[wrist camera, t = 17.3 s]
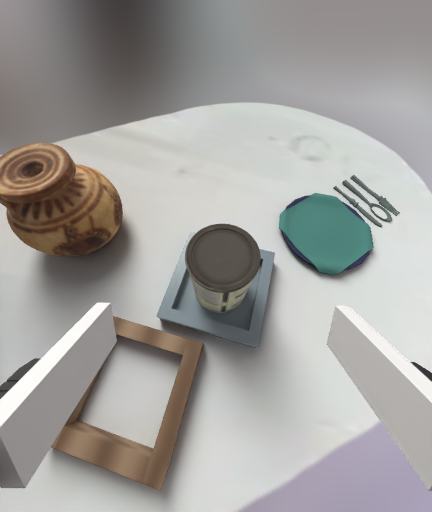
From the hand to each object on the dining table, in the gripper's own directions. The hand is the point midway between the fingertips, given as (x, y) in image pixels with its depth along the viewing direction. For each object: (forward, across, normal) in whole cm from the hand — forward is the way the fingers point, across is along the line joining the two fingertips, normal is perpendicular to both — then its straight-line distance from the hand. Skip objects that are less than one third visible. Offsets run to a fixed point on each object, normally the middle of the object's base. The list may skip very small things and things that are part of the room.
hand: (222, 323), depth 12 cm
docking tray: (+27, +1, -12) cm, 29 cm away
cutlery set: (+39, +28, -1) cm, 48 cm away
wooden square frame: (+15, -13, -24) cm, 31 cm away
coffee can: (+26, +1, -11) cm, 29 cm away
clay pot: (+37, -29, -3) cm, 47 cm away
